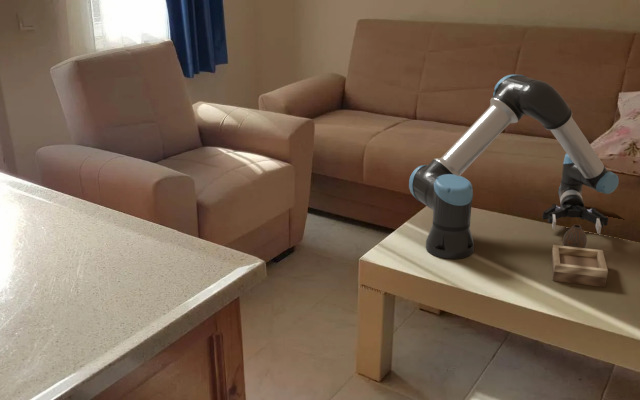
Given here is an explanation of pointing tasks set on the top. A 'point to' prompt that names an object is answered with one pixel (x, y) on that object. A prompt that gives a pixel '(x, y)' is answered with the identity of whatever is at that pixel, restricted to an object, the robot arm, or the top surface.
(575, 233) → the vase
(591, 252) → the square wooden tray
